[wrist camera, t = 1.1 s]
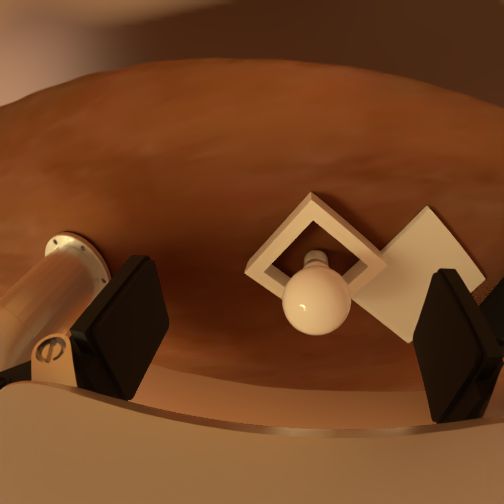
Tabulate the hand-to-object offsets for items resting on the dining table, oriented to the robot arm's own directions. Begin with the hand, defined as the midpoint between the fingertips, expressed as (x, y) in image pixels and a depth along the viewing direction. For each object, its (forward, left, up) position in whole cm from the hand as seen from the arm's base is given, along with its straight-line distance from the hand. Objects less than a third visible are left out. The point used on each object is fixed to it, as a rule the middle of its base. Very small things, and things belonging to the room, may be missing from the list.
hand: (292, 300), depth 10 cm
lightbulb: (-8, -9, -23) cm, 26 cm away
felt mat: (-2, -21, -23) cm, 31 cm away
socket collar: (-8, -9, -23) cm, 26 cm away
